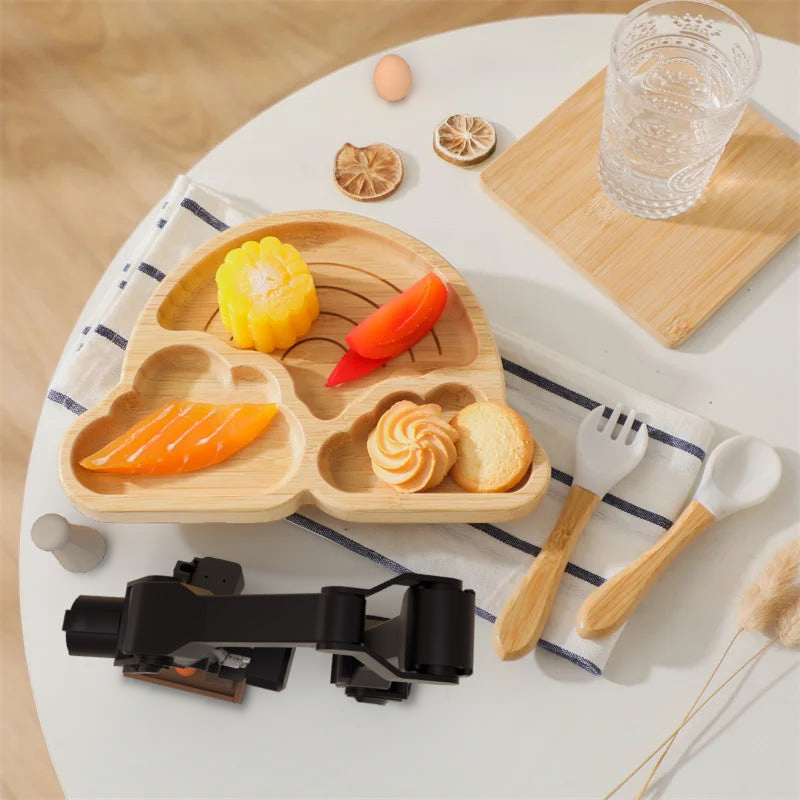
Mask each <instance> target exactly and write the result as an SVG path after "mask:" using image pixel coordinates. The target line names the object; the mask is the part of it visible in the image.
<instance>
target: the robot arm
mask: <svg viewBox="0 0 800 800" xmlns="http://www.w3.org/2000/svg"><path fill="white" fill-rule="evenodd" d="M244 576H245V575H244V571H243V567H242V565H241V564H240V563H238V562H236V561H232V560H227V559H223V558H218V557H214V556H205V557H199V556H194V557H193V559H192V560H191V561H185V560H180V559H178V560H177V561H176V563H175V566H174V567H173V570H172V576H171V575H163V574H162V575H161V574H149V575H145V576H142V577H139V578H136V579H133V580H130V581H127V583H126V588H125V594H124V596H123V597H122V596H105V595H89V594H79V596H77V597H76V598H75V599H74V601H73V603H72V605H71V607H70V609H65V611H64V616H63V621H62V625H61V631H63V632H65V645H66V649H67V652H68V653H67V654H68V656H70V657H82V658H83V657H84V658H101V659H113V667H117V668H119V667H120V668H122V673H123V674H124V673H129V674H158V673H160V672H161V671H162V670H163V669H165V670H169V669H170V668H172V667H173V666H174V667H178V668H182V669H185V668H191V669H195V670H199V671H203V672H208V673H212V674H216V675H217V674H218V670H219V667H220V664H221V668H220V671H219V675H218V677H220V678H224V679H228V680H232V681H236V682H242V681H244V680H245V679H246V682H245V684H247V685H246V686H251V687H255V688H259V689H263V690H266V691H272V692H275V693H281V692H283V691H284V690H286V689H287V686H288V681H289V677H290V673H291V670H292V666H293V662H294V658H295V654H296V650H297V648H315V652H318V653H323V654H332V655H331V666H330V667H331V668H330V679H329V684H330V685H334V686H335V687H336V688H339V689H344V695H345V696H346V697H347V698H352V699H354V700H355V701H356V702H357V703H360V704H361V703H362V704H370V705H377V706H381V707H382V706H384V707H385V706H386V705H387V704H388V703H389V702H403V701H408V698H409V697H410V693H411V688H412V684H423V685H433V686H434V685H436V686H459V685H460V679H462V678H470V677H472V676H473V675H474V661H475V660H474V659H475V628H476V627H475V626H476V595H477V594H476V590H474V589H473V588H465V589H463V587H464V582H463V580H462V579H459V578H456V577H450V576H441V575H433V574H425V573H418V572H410V571H408V572H403V573H401V574H397V576H394V577H392V578H390V579H388V580H385V581H384V582H382V583H380V584H378V585H375V586H373V587H371V588H362V587H356V586H355V587H354V586H346V585H345V586H344V585H327V586H326V585H325V586H321V588H320V592H301V593H300V592H299V593H297V592H295V593H254V594H253V593H252V594H249V593H247V594H242V592H243V591H244V588H245V585H246V582H245V577H244ZM393 586H403V587H408V588H407V589H406V590H405V592H404V593H403V597H402V602H401V608H400V611H399V612H400V613H399V615H397V616H395V617H392V618H391V617H386V616H380V615H374V614H367V603H368V600H367V598H369V597H370V596H371V597H372V596H373V595H375V594H377V593H380V592H382V591H383V590H386V589H388V588H390V587H393Z"/></svg>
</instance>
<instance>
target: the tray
mask: <svg viewBox="0 0 800 800" xmlns="http://www.w3.org/2000/svg"><path fill="white" fill-rule="evenodd" d="M206 674H207V672H203V671H199V670H198V671H197V672H196V673H194V674H193V675H190V676H183V675H181V674H179V673H178V672H177V671H176V669H175V667H174V666H173V667H172V668H170V669H169V670H165V669H163V670H162V671H161V672H160V673H158V674H129V673H123V675H122V676H123V677H126V678H130V679H134V680H138V681H143V682H147V683H149V684H150V683H151V684H155V685H157V686H163V687H167V688H171V689H176V690H179V691H184V692H188V693H192V694H196V695H201V696H204V697H208V698H212V699H217V700H221V701H225V702H228V703H233V704H238V705H242V702H243V698H244V695H245V692H246V688H247V686H248V685H247V684H245V682H246V679H245V680H244V681H242V682H235V685H234V688H229V687H225V686H221V685H216V684H212V683H208V682H205V677H206Z"/></svg>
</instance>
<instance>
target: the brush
mask: <svg viewBox="0 0 800 800" xmlns="http://www.w3.org/2000/svg"><path fill="white" fill-rule="evenodd" d="M220 668H221V664H220V667H219V670H218V674H217V675H216V674H212V673H208V672H207V674H206V677H205V682H208V683H212V684H216V685H221V686H225V687H229V688H234V685H235V682H236V681H232V680H228V679H224V678H220V677H218V675H219V671H220Z"/></svg>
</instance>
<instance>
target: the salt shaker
mask: <svg viewBox="0 0 800 800" xmlns="http://www.w3.org/2000/svg"><path fill="white" fill-rule="evenodd" d="M30 537H31V538H30V539H31V541H32V542H33V544H34V545H35V546H36V548H37V549H39V550H41V551H44V552H48V553H49V552H50V553H51V554H52V555H53V556H54V558H55V559H56V560H57V562H59V564H60V565H61V567H62V568H63V569H64V570H66V571H68V572H70V573H73V574H86V573H89V572H90V571H93V570H94V569H95V568H97V566H98V565H100V563H101V562H102V561H103V560H104V559H103V558H104V556H105V552H106V545H105V539H104V538H103V536H102V535H101V534H100V532H99V531H98V530H96V529H94V528H91V527H90V526H85V525H81V524H75V523H70V522H69V520H68V519H67V518H66V517H64V516H63V515H60V514H58V513H46V514H43V515H41V516H39V517H38V518H37V519H36V520H35V521H34V522H33V524H32V526H31V530H30Z"/></svg>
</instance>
